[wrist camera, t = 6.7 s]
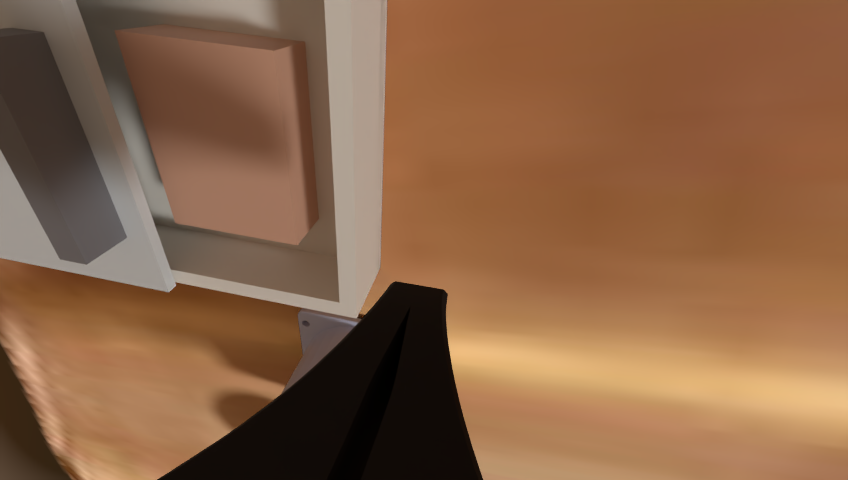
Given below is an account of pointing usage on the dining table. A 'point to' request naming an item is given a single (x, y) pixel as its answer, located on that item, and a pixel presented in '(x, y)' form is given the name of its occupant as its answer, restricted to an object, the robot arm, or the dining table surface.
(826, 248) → the dining table surface
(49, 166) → the lid
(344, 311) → the box
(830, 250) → the dining table surface
